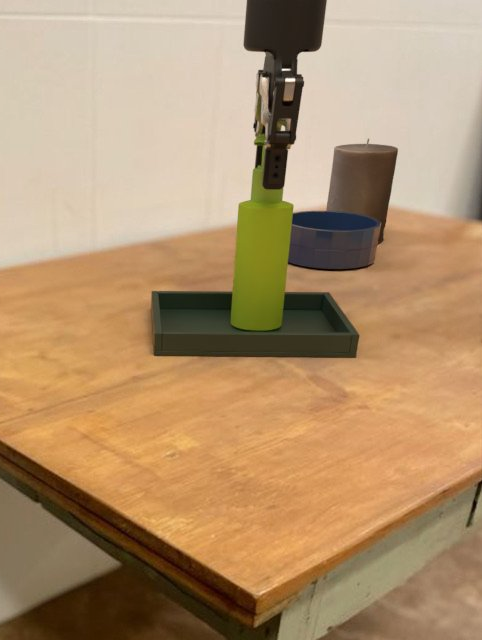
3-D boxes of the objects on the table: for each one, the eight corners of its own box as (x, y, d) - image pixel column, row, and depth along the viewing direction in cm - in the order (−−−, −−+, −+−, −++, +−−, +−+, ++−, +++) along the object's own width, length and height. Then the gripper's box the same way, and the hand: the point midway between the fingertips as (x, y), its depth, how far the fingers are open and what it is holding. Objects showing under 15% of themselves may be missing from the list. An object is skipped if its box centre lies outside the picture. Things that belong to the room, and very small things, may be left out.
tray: (326, 312, 100) (329, 292, 99) (356, 357, 87) (359, 334, 86) (150, 310, 101) (151, 290, 99) (153, 355, 87) (154, 333, 86)
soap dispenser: (222, 330, 92) (234, 135, 82) (237, 315, 98) (251, 131, 88) (273, 335, 90) (292, 137, 80) (286, 319, 96) (305, 132, 86)
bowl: (361, 247, 128) (367, 210, 125) (385, 271, 116) (392, 231, 113) (271, 246, 128) (274, 210, 125) (285, 270, 116) (290, 231, 113)
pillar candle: (395, 242, 131) (414, 140, 123) (347, 248, 128) (363, 144, 120) (356, 229, 139) (371, 133, 131) (309, 235, 135) (322, 136, 127)
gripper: (343, -9, 71) (317, 196, 80) (312, -5, 83) (292, 173, 92) (257, -9, 71) (240, 196, 80) (238, -5, 83) (225, 172, 92)
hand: (268, 183), depth 86 cm, fingers closed on soap dispenser, 5 cm apart
